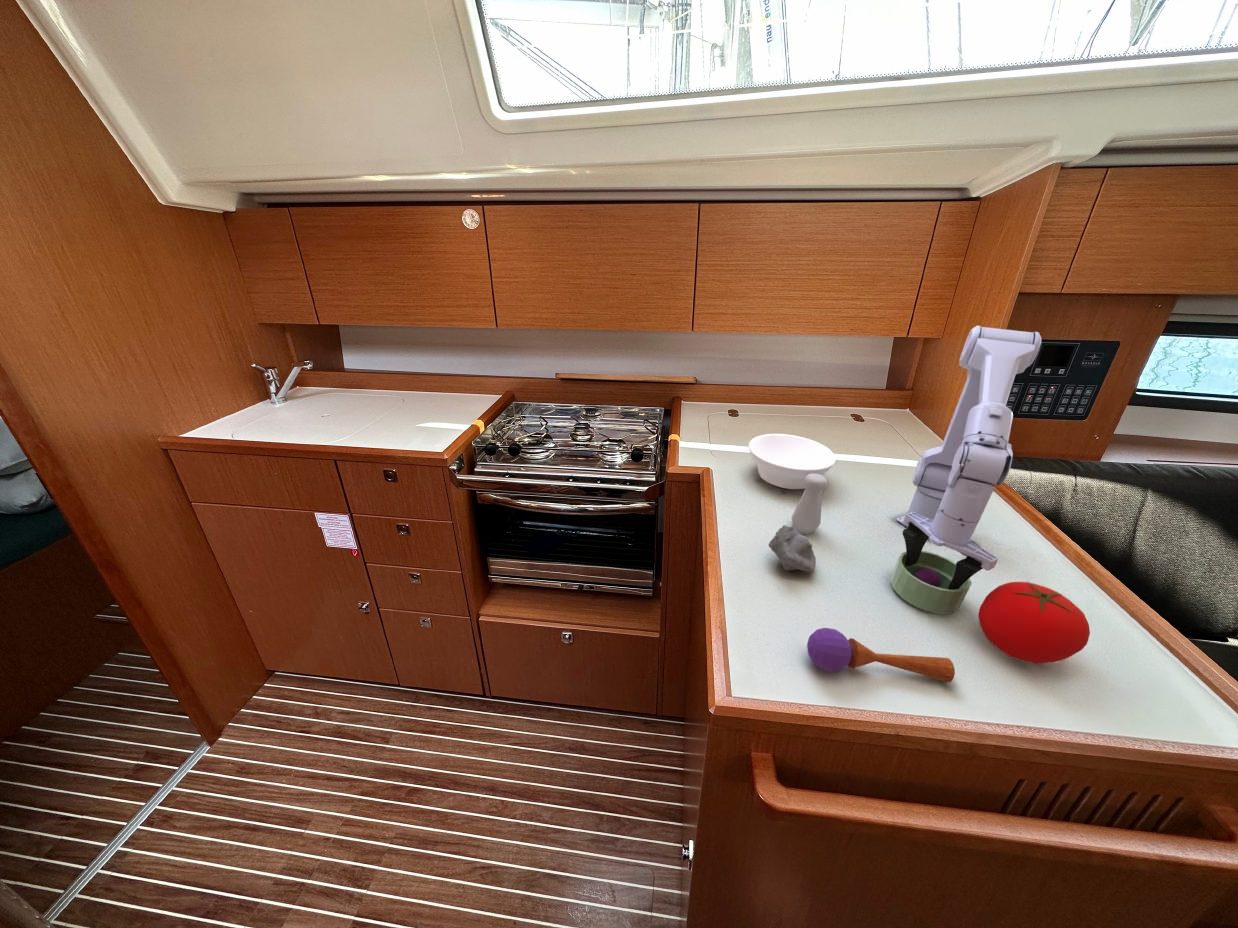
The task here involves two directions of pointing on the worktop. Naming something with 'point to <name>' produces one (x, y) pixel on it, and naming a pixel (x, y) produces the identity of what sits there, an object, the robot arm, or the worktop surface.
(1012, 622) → the tomato
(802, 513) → the salt shaker
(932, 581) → the ball
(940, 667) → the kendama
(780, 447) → the bowl
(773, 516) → the worktop surface
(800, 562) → the grey rock
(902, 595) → the green bowl
